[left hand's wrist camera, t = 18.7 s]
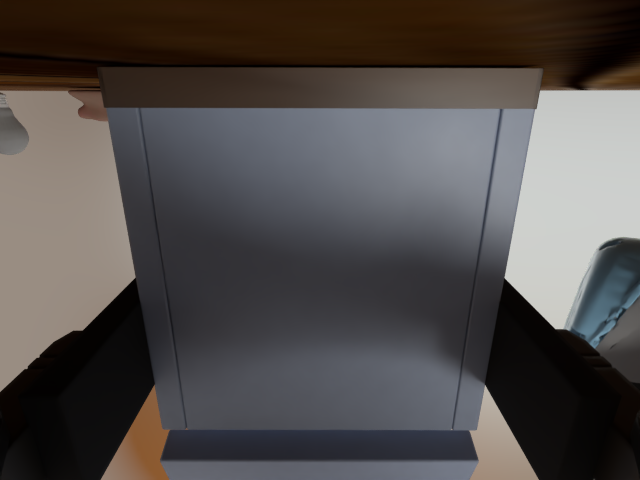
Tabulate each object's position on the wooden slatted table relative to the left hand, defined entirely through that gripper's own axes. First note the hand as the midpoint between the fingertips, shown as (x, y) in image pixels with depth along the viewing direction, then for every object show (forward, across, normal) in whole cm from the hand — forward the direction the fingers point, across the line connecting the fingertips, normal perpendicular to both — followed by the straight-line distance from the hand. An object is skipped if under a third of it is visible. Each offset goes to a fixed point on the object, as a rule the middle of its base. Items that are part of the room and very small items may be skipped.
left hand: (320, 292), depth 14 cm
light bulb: (+55, +52, -7) cm, 77 cm away
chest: (+6, 0, -7) cm, 9 cm away
